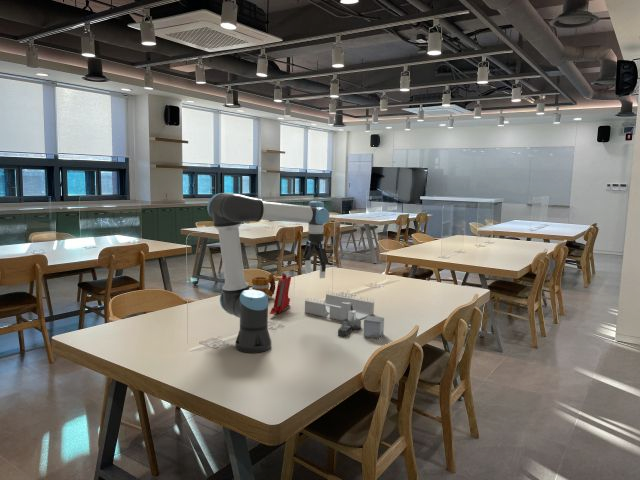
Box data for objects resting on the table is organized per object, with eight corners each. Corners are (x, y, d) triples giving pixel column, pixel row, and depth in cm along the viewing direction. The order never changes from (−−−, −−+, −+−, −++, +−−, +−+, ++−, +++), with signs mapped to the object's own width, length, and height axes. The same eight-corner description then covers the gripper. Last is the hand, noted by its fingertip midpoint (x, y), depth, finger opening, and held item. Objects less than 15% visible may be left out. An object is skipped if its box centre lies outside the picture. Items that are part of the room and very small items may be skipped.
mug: (247, 299, 281) (247, 274, 279) (269, 295, 292) (270, 271, 290) (257, 303, 273) (257, 277, 271) (280, 299, 284) (280, 274, 282)
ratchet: (351, 337, 216) (351, 320, 215) (332, 334, 219) (333, 317, 218) (362, 325, 234) (363, 310, 233) (345, 323, 237) (346, 307, 236)
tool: (278, 314, 242) (286, 267, 250) (268, 313, 243) (276, 266, 251) (289, 322, 265) (296, 279, 272) (279, 321, 266) (287, 278, 274)
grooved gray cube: (379, 339, 214) (380, 321, 213) (363, 336, 217) (364, 319, 216) (383, 334, 221) (384, 317, 221) (367, 332, 224) (368, 315, 223)
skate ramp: (373, 314, 256) (374, 294, 255) (347, 325, 234) (348, 304, 233) (327, 305, 273) (328, 286, 272) (299, 314, 251) (299, 294, 250)
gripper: (336, 235, 224) (335, 279, 227) (309, 230, 245) (308, 270, 248) (323, 235, 220) (322, 280, 223) (296, 230, 241) (295, 271, 244)
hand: (314, 275), depth 235 cm, fingers open, 13 cm apart
